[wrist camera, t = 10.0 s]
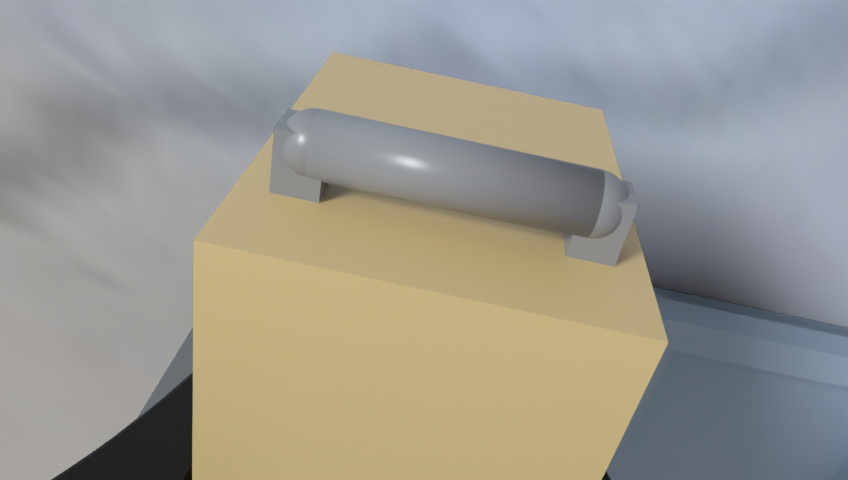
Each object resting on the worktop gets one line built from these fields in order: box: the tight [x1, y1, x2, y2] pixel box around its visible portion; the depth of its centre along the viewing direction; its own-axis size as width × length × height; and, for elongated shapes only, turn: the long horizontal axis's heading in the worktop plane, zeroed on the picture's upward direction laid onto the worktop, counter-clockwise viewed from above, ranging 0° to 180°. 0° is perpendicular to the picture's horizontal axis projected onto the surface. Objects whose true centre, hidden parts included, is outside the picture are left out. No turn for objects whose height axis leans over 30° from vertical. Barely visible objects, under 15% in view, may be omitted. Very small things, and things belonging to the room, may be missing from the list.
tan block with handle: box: [192, 52, 668, 480], centre depth 11 cm, size 4×11×6 cm, turn 170°
